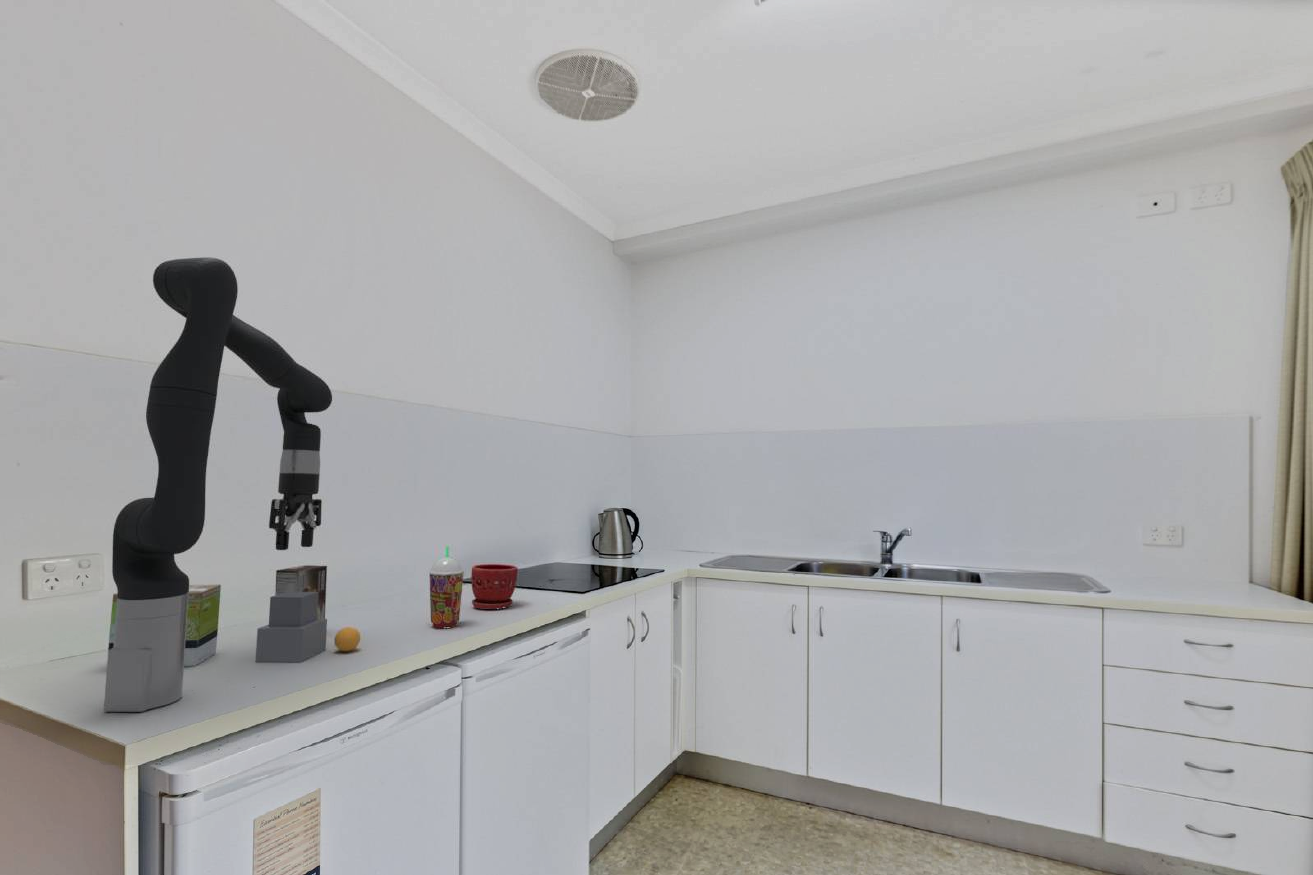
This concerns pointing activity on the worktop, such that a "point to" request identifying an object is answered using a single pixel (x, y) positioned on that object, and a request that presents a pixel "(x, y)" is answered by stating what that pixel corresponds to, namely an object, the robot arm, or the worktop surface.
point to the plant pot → (493, 585)
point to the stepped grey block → (292, 629)
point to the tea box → (193, 623)
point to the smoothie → (445, 591)
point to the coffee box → (304, 583)
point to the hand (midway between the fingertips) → (294, 548)
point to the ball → (347, 639)
